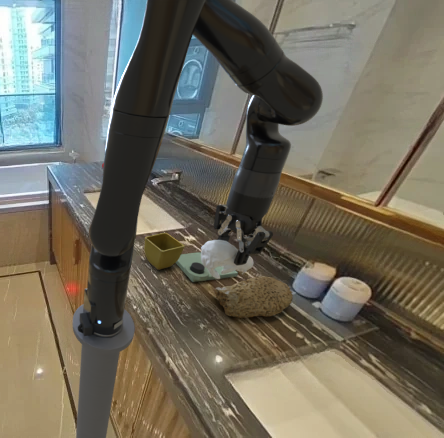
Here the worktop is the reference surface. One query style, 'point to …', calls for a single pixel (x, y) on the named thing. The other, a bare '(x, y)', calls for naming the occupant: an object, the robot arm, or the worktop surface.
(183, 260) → the scale
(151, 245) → the flower pot
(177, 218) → the worktop surface
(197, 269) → the button
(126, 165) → the robot arm
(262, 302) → the sponge
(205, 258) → the white animal figurine
